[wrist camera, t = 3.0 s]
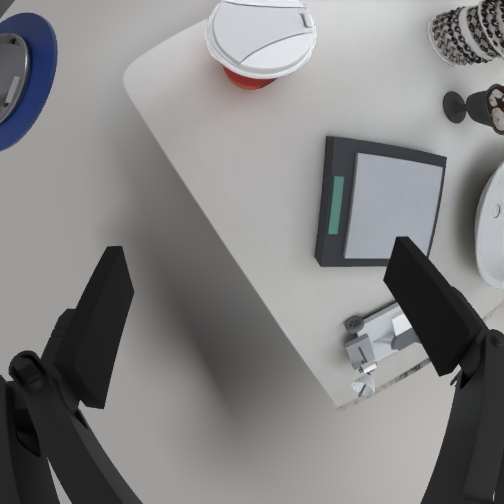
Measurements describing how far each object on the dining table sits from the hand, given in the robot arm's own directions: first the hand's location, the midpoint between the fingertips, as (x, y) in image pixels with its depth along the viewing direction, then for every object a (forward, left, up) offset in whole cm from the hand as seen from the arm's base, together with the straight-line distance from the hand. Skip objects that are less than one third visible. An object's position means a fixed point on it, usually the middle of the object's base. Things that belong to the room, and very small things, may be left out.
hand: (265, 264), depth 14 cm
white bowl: (+44, -1, -24) cm, 50 cm away
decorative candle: (+29, +25, -24) cm, 45 cm away
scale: (+18, -2, -24) cm, 30 cm away
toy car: (+24, -23, -24) cm, 41 cm away
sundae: (+30, +14, -24) cm, 41 cm away
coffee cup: (0, +14, -24) cm, 28 cm away
